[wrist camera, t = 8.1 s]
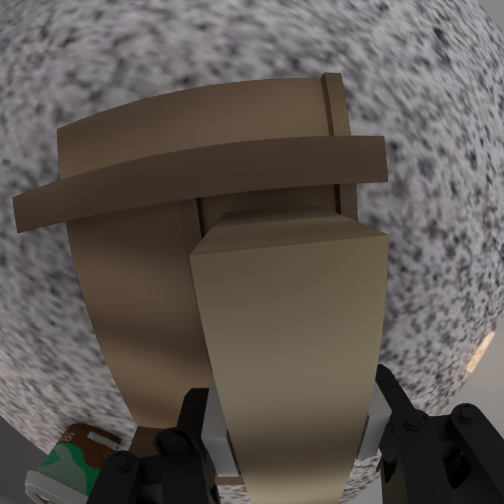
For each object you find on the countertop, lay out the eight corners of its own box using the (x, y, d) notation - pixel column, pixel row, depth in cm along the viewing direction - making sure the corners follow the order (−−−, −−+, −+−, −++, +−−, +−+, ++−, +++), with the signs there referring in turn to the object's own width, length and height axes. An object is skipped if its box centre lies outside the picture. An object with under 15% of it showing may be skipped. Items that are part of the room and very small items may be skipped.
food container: (67, 394, 17) (15, 473, 8) (126, 433, 18) (92, 521, 9) (53, 439, 20) (22, 495, 10) (97, 467, 21) (73, 527, 11)
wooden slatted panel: (66, 131, 12) (10, 121, 7) (330, 84, 12) (366, 45, 7) (161, 452, 19) (149, 495, 14) (332, 444, 19) (344, 489, 14)
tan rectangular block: (220, 213, 12) (181, 256, 5) (317, 204, 12) (394, 233, 5) (253, 431, 16) (254, 520, 9) (317, 423, 15) (338, 509, 9)
